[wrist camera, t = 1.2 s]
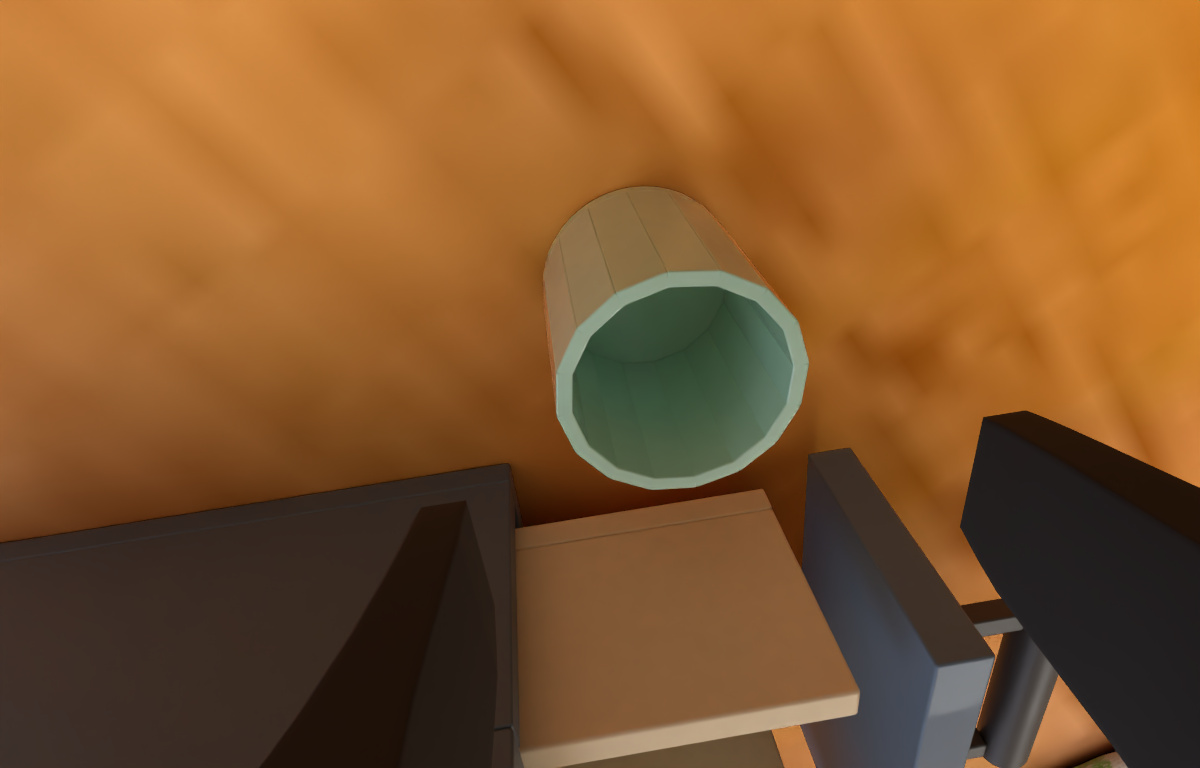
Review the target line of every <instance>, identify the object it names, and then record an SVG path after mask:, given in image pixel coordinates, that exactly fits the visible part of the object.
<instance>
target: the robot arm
mask: <svg viewBox="0 0 1200 768" xmlns="http://www.w3.org/2000/svg"><path fill="white" fill-rule="evenodd" d="M960 528H961V529H962V531H963V533H964V535H965V537H966V539H967V541H968V542H969V544H970V546H971V548H972V550H973V552H974V553H975V555H976V557H977V559H978V561H979V563H980V564H981V566H982V568H983V569H984V571H985V573H986V574H987V576H988V578H989V580H990V581H991V583H992V585H993V586H994V588H995V590H996V591H997V593H998V594H999V595H1000V597H1001V598H1002V600H1003V601H1004V602H1005V604H1006V605H1007V606H1008V608H1009V609H1010V610H1011V612H1012V613H1013V615H1014V616H1015V617H1016V619H1017V620H1018V621H1019V623H1020V624H1021V625H1022V627H1023V628H1024V629H1025V631H1026V632H1027V633H1028V635H1029V636H1030V637H1031V639H1032V640H1033V641H1034V643H1035V644H1036V645H1037V647H1038V648H1039V649H1040V651H1041V652H1042V653H1043V655H1044V656H1045V657H1046V658H1047V660H1048V661H1049V662H1050V664H1051V665H1052V666H1053V668H1054V669H1055V670H1056V672H1057V673H1058V674H1059V676H1060V677H1061V678H1062V680H1063V681H1064V682H1065V683H1066V685H1067V686H1068V687H1069V689H1070V690H1071V691H1072V693H1073V694H1074V695H1075V697H1076V698H1077V699H1078V701H1079V702H1080V703H1081V705H1082V706H1083V707H1084V708H1085V710H1086V711H1087V712H1088V714H1089V715H1090V716H1091V718H1092V719H1093V720H1094V722H1095V723H1096V724H1097V726H1098V727H1099V728H1100V730H1101V731H1102V732H1103V734H1104V735H1105V736H1106V737H1107V739H1108V740H1109V742H1110V743H1111V745H1112V746H1113V747H1114V749H1115V750H1116V752H1117V753H1118V755H1119V756H1120V757H1121V759H1122V760H1123V762H1124V763H1125V765H1126V766H1127V767H1128V768H1200V488H1199V487H1197V486H1194V485H1192V484H1190V483H1188V482H1186V481H1183V480H1181V479H1179V478H1177V477H1175V476H1172V475H1170V474H1168V473H1166V472H1164V471H1161V470H1159V469H1157V468H1155V467H1153V466H1151V465H1148V464H1146V463H1144V462H1142V461H1140V460H1138V459H1135V458H1133V457H1131V456H1129V455H1127V454H1125V453H1122V452H1120V451H1118V450H1116V449H1114V448H1112V447H1109V446H1107V445H1105V444H1103V443H1101V442H1099V441H1096V440H1094V439H1092V438H1090V437H1088V436H1085V435H1083V434H1081V433H1079V432H1077V431H1074V430H1072V429H1070V428H1068V427H1065V426H1063V425H1061V424H1058V423H1056V422H1054V421H1051V420H1049V419H1047V418H1044V417H1042V416H1039V415H1036V414H1034V413H1031V412H1029V411H1019V412H1013V413H1007V414H1001V415H994V416H988V417H983V421H982V426H981V430H980V435H979V440H978V444H977V449H976V454H975V459H974V463H973V468H972V473H971V477H970V482H969V487H968V492H967V496H966V501H965V506H964V510H963V515H962V520H961V525H960ZM497 679H498V669H497V642H496V621H495V603H494V600H493V596H492V593H491V589H490V585H489V582H488V578H487V574H486V571H485V567H484V563H483V560H482V556H481V552H480V549H479V545H478V541H477V538H476V534H475V530H474V527H473V523H472V520H471V516H470V512H469V509H468V505H467V501H466V500H464V501H458V502H452V503H445V504H439V505H433V506H427V507H421V508H420V510H419V511H418V512H417V513H416V514H415V516H414V518H413V520H412V522H411V524H410V526H409V528H408V530H407V532H406V534H405V536H404V538H403V539H402V541H401V543H400V545H399V547H398V549H397V551H396V553H395V555H394V557H393V558H392V560H391V562H390V564H389V566H388V568H387V569H386V571H385V573H384V575H383V577H382V579H381V580H380V582H379V584H378V586H377V588H376V589H375V591H374V593H373V595H372V596H371V598H370V600H369V601H368V603H367V605H366V606H365V608H364V610H363V611H362V613H361V615H360V617H359V618H358V620H357V622H356V623H355V625H354V627H353V628H352V630H351V632H350V633H349V635H348V637H347V638H346V640H345V642H344V643H343V645H342V647H341V648H340V650H339V651H338V653H337V654H336V656H335V657H334V659H333V660H332V662H331V664H330V665H329V667H328V668H327V670H326V671H325V673H324V674H323V676H322V677H321V679H320V680H319V682H318V683H317V685H316V686H315V688H314V689H313V691H312V692H311V694H310V695H309V697H308V698H307V700H306V701H305V703H304V704H303V706H302V707H301V709H300V710H299V712H298V713H297V715H296V716H295V718H294V719H293V720H292V722H291V723H290V725H289V726H288V727H287V729H286V730H285V732H284V733H283V734H282V736H281V737H280V739H279V740H278V741H277V743H276V744H275V745H274V747H273V748H272V749H271V751H270V752H269V753H268V755H267V756H266V758H265V759H264V760H263V762H262V763H261V764H260V765H259V767H258V768H492V755H493V741H494V726H495V711H496V696H497Z"/></svg>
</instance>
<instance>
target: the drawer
mask: <svg viewBox="0 0 1200 768" xmlns="http://www.w3.org/2000/svg"><path fill="white" fill-rule="evenodd" d="M515 544H516V590H517V636H518V682H519V728H520V747H519V751H520V755H521V758H522V762H523V765H524V768H784V766H783V763H782V760H781V757H780V754H779V751H778V748H777V745H776V742H775V739H774V736H773V734H772V731H771V730H772V729H778V728H784V727H789V726H795V725H800V726H801V729H802V732H803V734H804V737H805V739H806V742H807V745H808V747H809V750H810V752H811V755H812V758H813V760H814V763H815V765H816V768H964V767H965V763H966V759H972V758H977V757H982V756H983V757H984V758H985V759H986V760H987V761H988V762H990V763H991V764H993V765H995V766H997V767H1000V768H1020V767H1022V766H1023V765H1024V764H1025V763H1026V762H1027V760H1028V757H1029V754H1030V752H1031V749H1032V746H1033V743H1034V741H1035V738H1036V735H1037V732H1038V730H1039V727H1040V724H1041V721H1042V718H1043V716H1044V713H1045V710H1046V707H1047V705H1048V702H1049V699H1050V696H1051V694H1052V691H1053V688H1054V685H1055V682H1056V680H1057V677H1058V673H1057V672H1056V670H1055V669H1054V668H1053V666H1052V665H1051V664H1050V662H1049V661H1048V660H1047V658H1046V657H1045V656H1044V655H1043V653H1042V652H1041V651H1040V649H1039V648H1038V647H1037V645H1036V644H1035V643H1034V641H1033V640H1032V639H1031V637H1030V636H1029V635H1028V633H1027V632H1026V631H1025V629H1024V628H1023V627H1022V625H1021V624H1020V623H1019V621H1018V620H1017V619H1016V617H1015V616H1014V615H1013V613H1012V612H1011V610H1010V609H1009V608H1008V606H1007V605H1006V604H1005V602H1004V601H1003V600H1002V599H996V600H990V601H984V602H978V603H973V604H967V605H961V606H960V604H959V603H958V601H957V600H956V599H955V597H954V596H953V594H952V593H951V591H950V590H949V589H948V587H947V586H946V584H945V583H944V581H943V580H942V579H941V577H940V576H939V574H938V573H937V571H936V570H935V568H934V567H933V566H932V564H931V563H930V561H929V560H928V558H927V557H926V556H925V554H924V553H923V551H922V550H921V548H920V547H919V546H918V544H917V543H916V541H915V540H914V538H913V537H912V536H911V534H910V533H909V531H908V530H907V528H906V527H905V525H904V524H903V523H902V521H901V520H900V518H899V517H898V515H897V514H896V513H895V511H894V510H893V508H892V507H891V505H890V504H889V503H888V501H887V500H886V498H885V497H884V495H883V494H882V493H881V491H880V490H879V488H878V487H877V485H876V484H875V483H874V481H873V480H872V478H871V477H870V475H869V474H868V472H867V471H866V470H865V468H864V467H863V465H862V464H861V462H860V461H859V460H858V458H857V457H856V455H855V454H854V452H853V451H852V450H851V448H843V449H837V450H831V451H825V452H818V453H812V454H809V455H808V468H807V486H806V503H805V521H804V539H803V557H802V570H801V568H800V565H799V563H798V561H797V559H796V557H795V555H794V553H793V551H792V549H791V547H790V545H789V543H788V541H787V538H786V536H785V534H784V532H783V530H782V528H781V526H780V524H779V522H778V520H777V518H776V516H775V514H774V512H773V510H772V506H771V504H770V502H769V500H768V498H767V496H766V494H765V491H764V490H763V489H758V490H751V491H745V492H739V493H733V494H727V495H721V496H714V497H708V498H702V499H696V500H690V501H684V502H677V503H671V504H665V505H659V506H653V507H647V508H640V509H634V510H628V511H622V512H616V513H610V514H603V515H597V516H591V517H585V518H579V519H573V520H566V521H560V522H554V523H548V524H542V525H536V526H529V527H523V528H517V529H515ZM1002 633H1004V634H1003V637H1002V641H1001V644H1000V648H999V651H998V655H997V658H996V662H995V665H994V669H993V672H992V676H991V679H990V683H989V686H988V690H987V693H986V697H985V701H984V704H983V708H982V711H981V715H980V718H979V722H978V725H977V728H976V724H977V720H978V717H979V713H980V710H981V706H982V703H983V699H984V696H985V692H986V689H987V685H988V682H989V678H990V674H991V671H992V667H993V664H994V660H995V655H994V653H993V652H992V650H991V649H990V647H989V646H988V644H987V643H986V642H985V640H984V639H983V637H984V636H990V635H996V634H1002Z"/></svg>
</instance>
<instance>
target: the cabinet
mask: <svg viewBox="0 0 1200 768" xmlns="http://www.w3.org/2000/svg"><path fill="white" fill-rule="evenodd" d="M464 500H466V501H467V505H468V509H469V512H470V516H471V520H472V523H473V527H474V530H475V534H476V538H477V541H478V545H479V549H480V552H481V556H482V560H483V563H484V567H485V571H486V574H487V578H488V582H489V585H490V589H491V593H492V596H493V600H494V603H495V621H496V642H497V669H498V679H497V696H496V711H495V726H494V741H493V755H492V768H524V765H523V762H522V758H521V755H520V751H519V747H520V728H519V682H518V636H517V590H516V544H515V529H517V528H523V522H522V518H521V513H520V509H519V504H518V499H517V495H516V490H515V486H514V481H513V477H512V472H511V468H510V465H509V464H501V465H494V466H488V467H482V468H475V469H469V470H463V471H456V472H450V473H444V474H438V475H431V476H425V477H419V478H412V479H406V480H400V481H393V482H387V483H381V484H374V485H368V486H362V487H355V488H349V489H343V490H336V491H330V492H324V493H317V494H311V495H305V496H298V497H292V498H286V499H280V500H273V501H267V502H261V503H254V504H248V505H242V506H235V507H229V508H223V509H216V510H210V511H204V512H197V513H191V514H185V515H178V516H172V517H166V518H159V519H153V520H147V521H140V522H134V523H128V524H122V525H115V526H109V527H103V528H96V529H90V530H84V531H77V532H71V533H65V534H58V535H52V536H46V537H39V538H33V539H27V540H20V541H14V542H8V543H1V544H0V768H258V767H259V765H260V764H261V763H262V762H263V760H264V759H265V758H266V756H267V755H268V753H269V752H270V751H271V749H272V748H273V747H274V745H275V744H276V743H277V741H278V740H279V739H280V737H281V736H282V734H283V733H284V732H285V730H286V729H287V727H288V726H289V725H290V723H291V722H292V720H293V719H294V718H295V716H296V715H297V713H298V712H299V710H300V709H301V707H302V706H303V704H304V703H305V701H306V700H307V698H308V697H309V695H310V694H311V692H312V691H313V689H314V688H315V686H316V685H317V683H318V682H319V680H320V679H321V677H322V676H323V674H324V673H325V671H326V670H327V668H328V667H329V665H330V664H331V662H332V660H333V659H334V657H335V656H336V654H337V653H338V651H339V650H340V648H341V647H342V645H343V643H344V642H345V640H346V638H347V637H348V635H349V633H350V632H351V630H352V628H353V627H354V625H355V623H356V622H357V620H358V618H359V617H360V615H361V613H362V611H363V610H364V608H365V606H366V605H367V603H368V601H369V600H370V598H371V596H372V595H373V593H374V591H375V589H376V588H377V586H378V584H379V582H380V580H381V579H382V577H383V575H384V573H385V571H386V569H387V568H388V566H389V564H390V562H391V560H392V558H393V557H394V555H395V553H396V551H397V549H398V547H399V545H400V543H401V541H402V539H403V538H404V536H405V534H406V532H407V530H408V528H409V526H410V524H411V522H412V520H413V518H414V516H415V514H416V513H417V512H418V511H419V510H420V508H421V507H427V506H433V505H439V504H445V503H452V502H458V501H464Z"/></svg>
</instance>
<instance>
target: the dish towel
mask: <svg viewBox="0 0 1200 768" xmlns="http://www.w3.org/2000/svg"><path fill="white" fill-rule="evenodd" d="M1074 768H1128V767H1127V766H1126V765H1125V763H1124V762H1123V760H1122V759H1121V757H1120V756H1119V755H1118V753H1117V752H1116V751H1115V752H1113V753H1109V754H1105V755H1102V756H1099V757H1097V758H1094V759H1092V760H1090V761H1088V762H1086V763H1083V764H1081V765H1079V766H1076V767H1074Z"/></svg>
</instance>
